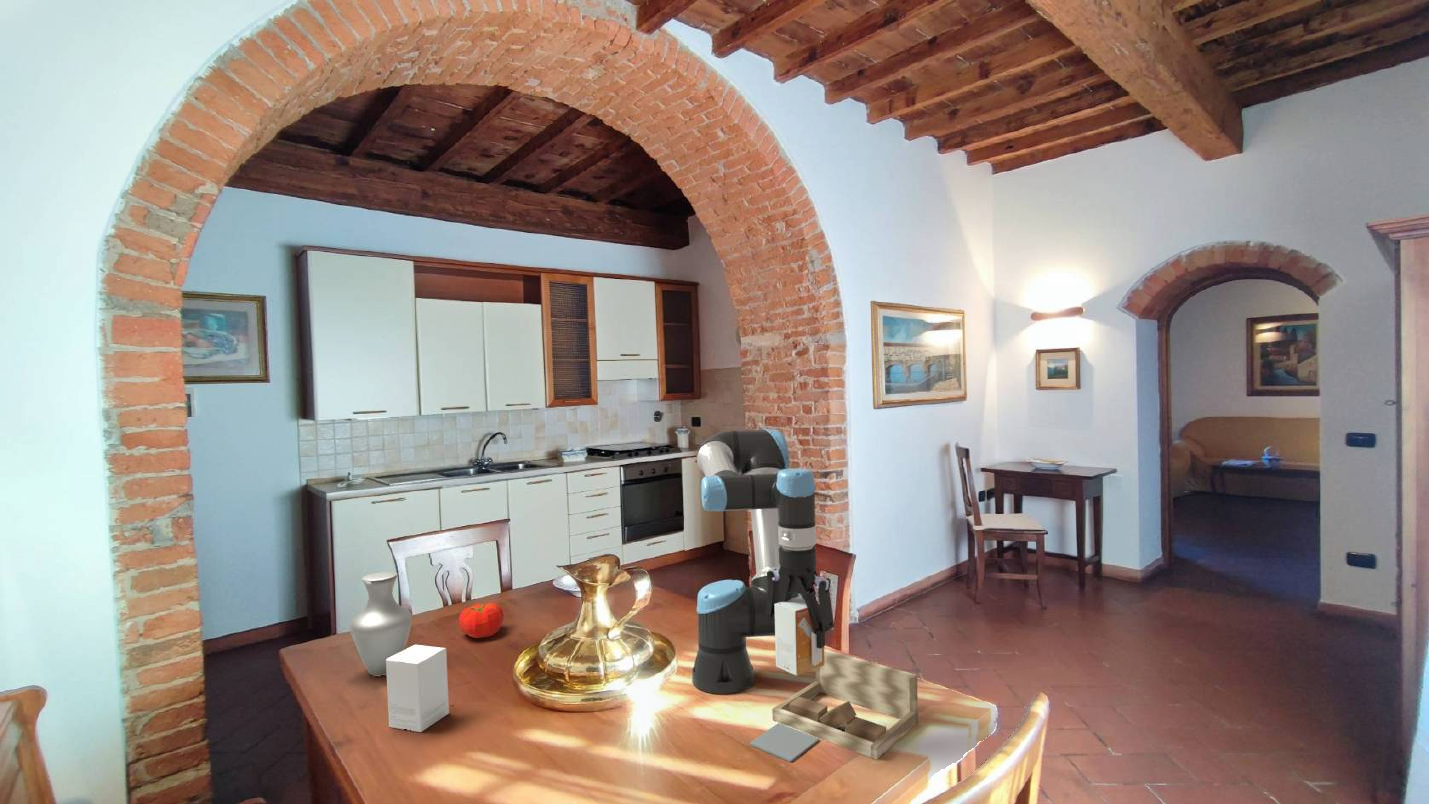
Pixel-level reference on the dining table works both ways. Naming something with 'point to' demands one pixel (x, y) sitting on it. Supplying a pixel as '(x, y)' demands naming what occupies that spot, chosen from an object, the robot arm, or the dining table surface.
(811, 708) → the offcut
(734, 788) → the dining table surface
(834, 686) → the tray
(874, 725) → the offcut
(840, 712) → the offcut
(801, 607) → the small box
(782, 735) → the mat
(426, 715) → the supplement box
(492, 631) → the tomato
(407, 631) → the vase
